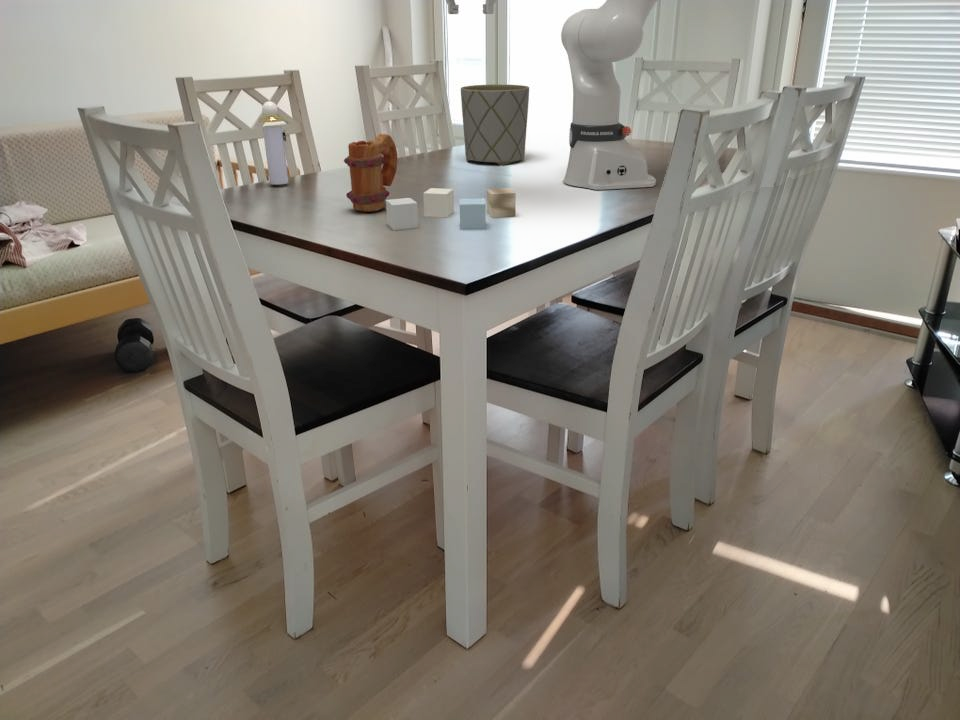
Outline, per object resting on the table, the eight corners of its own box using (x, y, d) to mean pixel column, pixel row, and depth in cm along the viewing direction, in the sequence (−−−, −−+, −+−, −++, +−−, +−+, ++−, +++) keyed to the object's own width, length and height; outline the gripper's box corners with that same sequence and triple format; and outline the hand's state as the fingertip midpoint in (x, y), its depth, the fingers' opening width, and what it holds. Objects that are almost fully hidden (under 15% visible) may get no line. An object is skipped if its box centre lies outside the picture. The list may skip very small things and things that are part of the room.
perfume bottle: (276, 189, 179) (265, 103, 171) (263, 185, 183) (251, 101, 174) (296, 185, 183) (286, 101, 175) (283, 182, 187) (272, 99, 178)
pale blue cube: (485, 223, 148) (484, 198, 146) (485, 229, 143) (485, 204, 141) (460, 223, 148) (459, 198, 146) (460, 230, 143) (459, 204, 141)
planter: (539, 158, 214) (541, 85, 206) (506, 169, 200) (507, 91, 191) (484, 153, 223) (484, 83, 215) (449, 162, 209) (447, 88, 200)
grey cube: (411, 222, 149) (410, 197, 147) (418, 228, 145) (417, 202, 143) (387, 224, 148) (385, 199, 145) (393, 230, 143) (392, 205, 141)
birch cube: (509, 211, 156) (510, 188, 154) (515, 217, 152) (515, 193, 150) (487, 212, 155) (486, 189, 153) (491, 218, 151) (491, 194, 149)
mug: (369, 216, 153) (363, 142, 147) (340, 212, 157) (333, 140, 151) (411, 202, 164) (407, 133, 158) (383, 198, 168) (378, 131, 162)
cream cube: (453, 212, 156) (453, 189, 154) (447, 218, 152) (446, 194, 150) (431, 211, 157) (430, 188, 155) (424, 217, 153) (423, 193, 151)
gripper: (521, -65, 142) (519, 14, 148) (443, -59, 154) (444, 14, 159) (501, -68, 137) (500, 13, 143) (422, -61, 149) (424, 14, 155)
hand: (470, 14), depth 151 cm, fingers open, 8 cm apart
